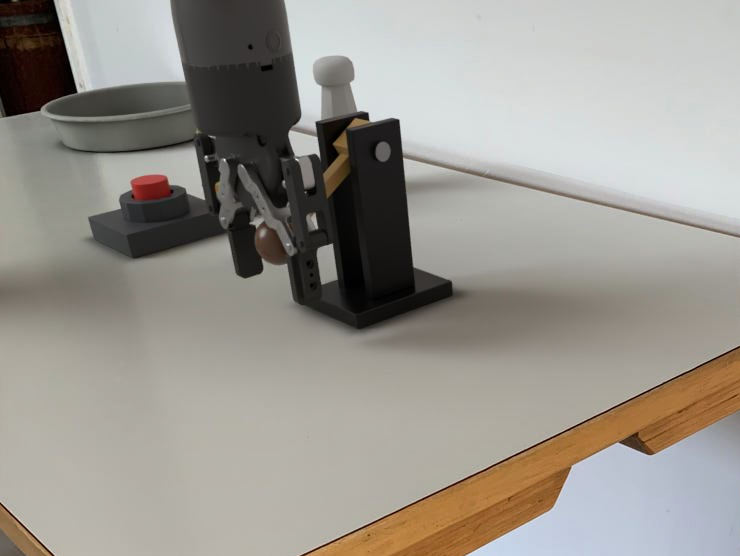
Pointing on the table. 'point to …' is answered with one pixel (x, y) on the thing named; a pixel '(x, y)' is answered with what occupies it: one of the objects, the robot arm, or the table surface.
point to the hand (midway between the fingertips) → (278, 288)
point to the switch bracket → (371, 227)
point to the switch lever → (333, 176)
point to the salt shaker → (335, 85)
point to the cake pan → (124, 117)
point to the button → (150, 187)
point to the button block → (155, 223)
